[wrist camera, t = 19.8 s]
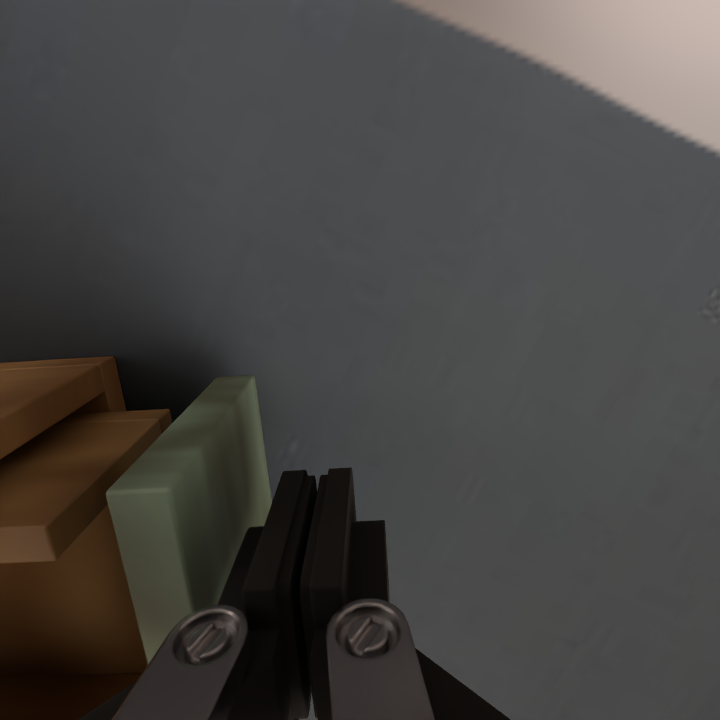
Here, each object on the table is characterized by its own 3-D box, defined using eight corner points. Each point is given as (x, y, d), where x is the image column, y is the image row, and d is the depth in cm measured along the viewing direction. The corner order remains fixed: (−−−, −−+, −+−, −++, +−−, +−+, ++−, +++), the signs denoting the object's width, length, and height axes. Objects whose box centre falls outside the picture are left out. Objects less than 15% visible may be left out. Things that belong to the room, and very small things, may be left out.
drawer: (294, 371, 14) (237, 485, 8) (328, 671, 18) (305, 912, 12) (-145, 397, 15) (-500, 521, 9) (-34, 683, 18) (-239, 918, 12)
